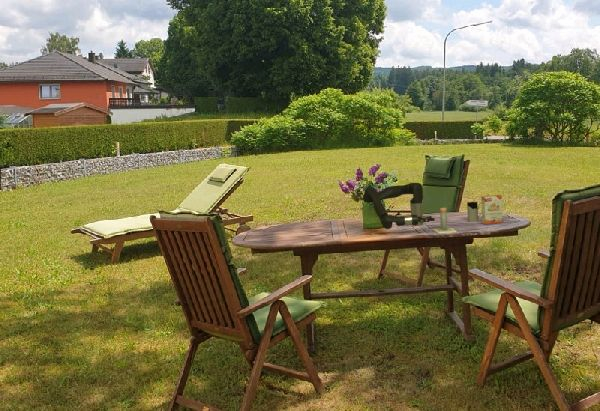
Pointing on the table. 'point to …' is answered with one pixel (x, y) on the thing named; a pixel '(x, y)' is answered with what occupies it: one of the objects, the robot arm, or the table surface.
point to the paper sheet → (444, 230)
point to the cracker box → (491, 209)
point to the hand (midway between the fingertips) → (433, 218)
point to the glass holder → (472, 212)
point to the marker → (443, 218)
